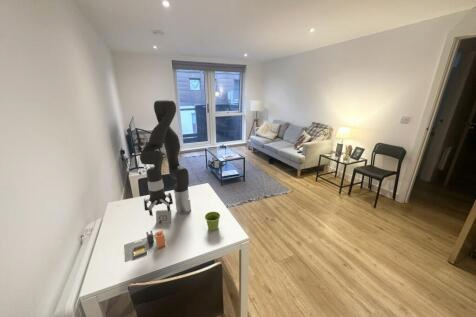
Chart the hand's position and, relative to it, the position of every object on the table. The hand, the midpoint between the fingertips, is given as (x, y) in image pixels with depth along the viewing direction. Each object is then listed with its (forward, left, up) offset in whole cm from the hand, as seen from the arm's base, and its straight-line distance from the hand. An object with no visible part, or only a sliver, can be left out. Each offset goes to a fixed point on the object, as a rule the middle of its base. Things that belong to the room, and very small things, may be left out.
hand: (160, 213), depth 109 cm
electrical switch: (-3, -13, -17) cm, 22 cm away
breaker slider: (+7, +1, -15) cm, 16 cm away
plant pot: (-28, +7, -17) cm, 33 cm away
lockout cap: (+3, +7, -15) cm, 17 cm away
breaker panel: (+10, +4, -17) cm, 20 cm away
